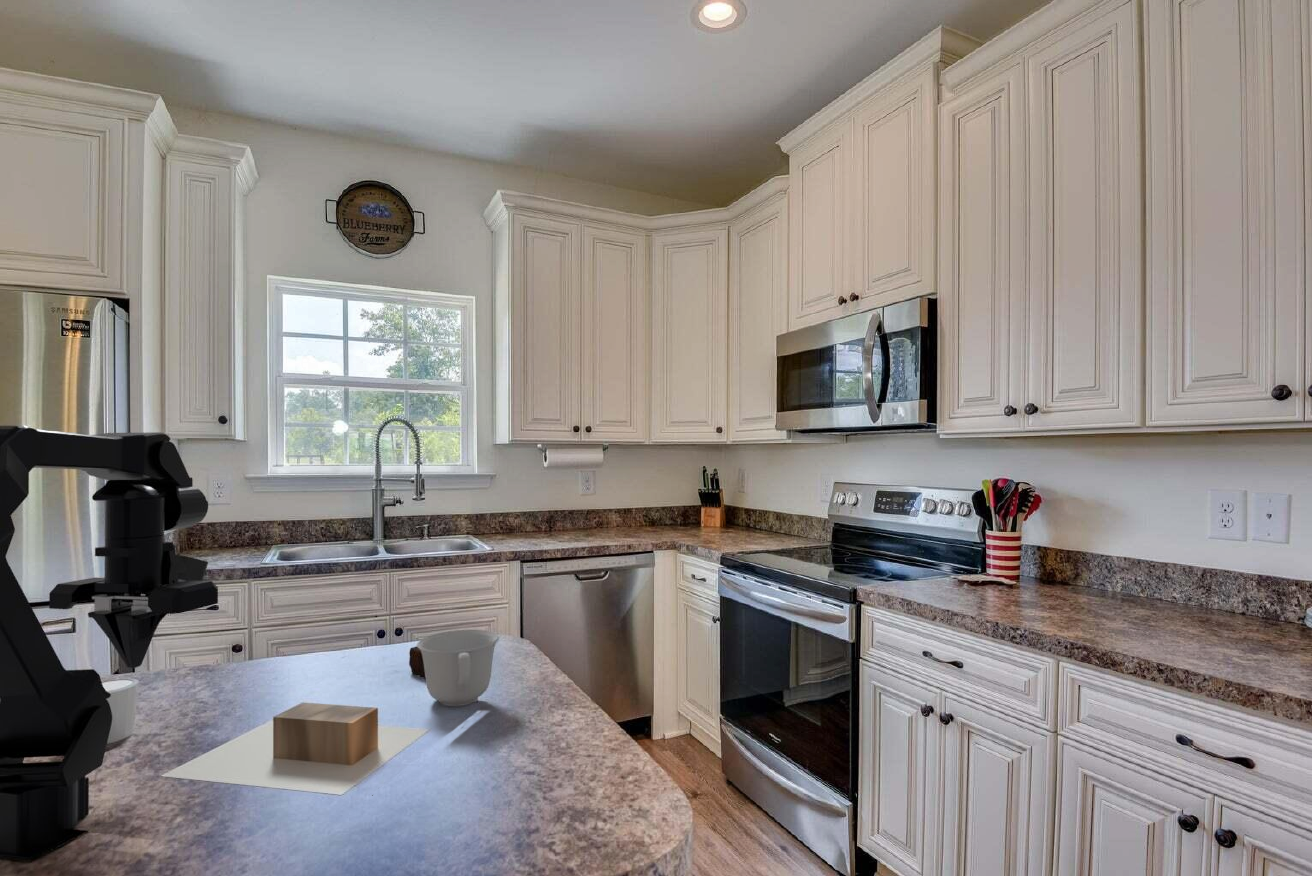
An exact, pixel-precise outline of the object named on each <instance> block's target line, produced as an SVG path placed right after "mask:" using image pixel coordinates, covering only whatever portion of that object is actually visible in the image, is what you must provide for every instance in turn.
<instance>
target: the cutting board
mask: <svg viewBox="0 0 1312 876" xmlns="http://www.w3.org/2000/svg"><path fill="white" fill-rule="evenodd" d="M429 731H431V728H430V729H428V728H418V727H417V728H416V727H406V726H405V727H404V726H395V725H393V726H391V725H379V724H378V748H377V749H375V750H374V751H373V752H371V753H370V754H368V755H367V756H365V757H364V758H362V759H361V760H360V761H358V762H357V763H355V764H354V765H342V764H331V763H320V762H310V761H299V760H288V759H278V758H273V719H271V720H269V721H268V722H265V723H262V724H261V725H259V726H257V727H255V728H253V729H251V730H249V731H247V732H245V733H243V734H242V735H241V734H240V735H239V736H237V737H235V738H233V739H231V740H229V741H227V742H225V743H223V744H221V745H219V746H217V747H215V748H213V749H211V750H209V751H208V752H206V753H202V754H201V755H199V756H197V757H195V758H193V759H192V760H189V761H188V762H186V763H183V764H182V765H180V766H178V767H175V768H173V769H171V770H169V771H167V772H166V773H163V774H162V775H160V777H163V778H172V779H183V780H192V781H201V782H212V783H220V784H231V785H240V786H249V787H258V788H259V787H260V788H267V789H268V788H269V789H278V790H286V791H296V792H306V793H315V794H316V793H318V794H324V795H335V796H343V795H345V794H346V793H347V792H349V791H350V790H351V789H352V788H354V787H355V786H356V785H358V784H359V783H361V782H362V781H363V780H365V779H366V778H367V777H368V776H370V775H371V774H373V773H374V772H375V771H377V770H378V769H379V768H380V767H382V766H384V765H386V763H387V762H389V761H390V760H392V759H393V758H394V757H396V756H397V755H398V754H399V753H401V752H402V751H404V750H405V749H406V748H408V747H409V746H411V745H412V744H413V743H414V742H416V741H417V740H418V739H420V738H422V736H424V735H426V734H427V733H428V732H429Z"/></svg>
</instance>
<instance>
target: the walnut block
mask: <svg viewBox="0 0 1312 876" xmlns="http://www.w3.org/2000/svg"><path fill="white" fill-rule="evenodd" d="M272 717H273V719H272V720H273V758H278V759H288V760H299V761H310V762H320V763H331V764H342V765H354V764H355V763H357V762H358V761H360V760H361V759H362V758H364V757H365V756H367V755H368V754H370V753H371V752H373V751H374V750H375V749H377V748H378V725H379V708H378V707H372V706H371V707H370V706H357V705H343V704H331V703H315V702H314V703H313V702H300V703H299V704H296V705H295V706H292V707H291V708H289V709H286V710H284V711H283V712H281V713H279V714H276V715H274V716H272Z"/></svg>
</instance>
